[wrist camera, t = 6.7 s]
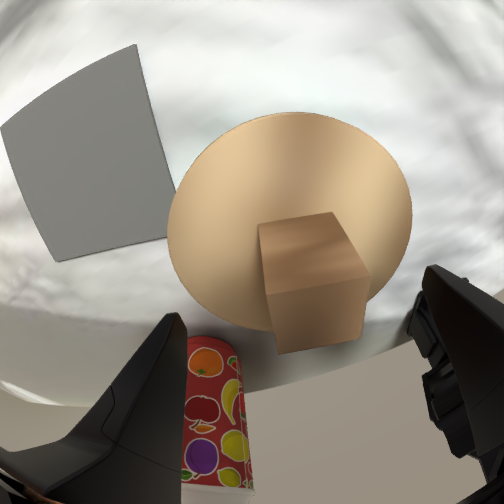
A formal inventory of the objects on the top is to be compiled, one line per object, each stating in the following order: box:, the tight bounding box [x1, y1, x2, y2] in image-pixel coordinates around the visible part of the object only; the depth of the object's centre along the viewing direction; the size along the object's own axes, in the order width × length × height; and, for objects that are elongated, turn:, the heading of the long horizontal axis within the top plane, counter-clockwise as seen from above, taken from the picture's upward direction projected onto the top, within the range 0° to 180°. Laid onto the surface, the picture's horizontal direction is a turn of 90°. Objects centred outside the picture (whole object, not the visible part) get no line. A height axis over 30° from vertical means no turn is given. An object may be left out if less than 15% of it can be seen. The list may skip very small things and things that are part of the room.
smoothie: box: [181, 336, 255, 504], centre depth 16 cm, size 8×8×20 cm
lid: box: [167, 112, 412, 355], centre depth 10 cm, size 11×11×5 cm
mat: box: [0, 44, 176, 262], centre depth 14 cm, size 12×12×1 cm
